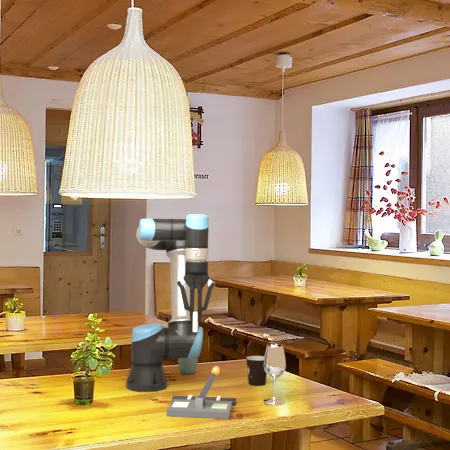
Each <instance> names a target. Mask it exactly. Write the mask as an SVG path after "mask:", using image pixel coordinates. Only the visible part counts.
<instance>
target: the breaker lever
mask: <svg viewBox="0 0 450 450" xmlns="http://www.w3.org/2000/svg"><path fill="white" fill-rule="evenodd" d="M220 373H221V367H220V366H219V365H214V366H213V367H212V369H211V373H210V375H209V376H208V378H207V380H206V382H205V384H204V385H203V388H202V390H201V392H199V393H200V395H199V397H198V396H197V397H198V398H203V400H204V399H205V397H207V395H208V393H209V391H210V390H211V388H212V386H213V383H214V382H215V380H216V378H217V377H218V376H219V375H220Z"/></svg>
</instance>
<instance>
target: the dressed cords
mask: <svg viewBox="0 0 450 450" xmlns="http://www.w3.org/2000/svg"><path fill="white" fill-rule="evenodd" d="M196 398H198V396H193V394H188V395H172V397H171V402H172V401H173V399H185V400H195V399H196ZM205 400H210V401H232V406H236V404H237V398H236V397H222V396H221V395H217V396H206V397H205Z"/></svg>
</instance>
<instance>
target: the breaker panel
mask: <svg viewBox="0 0 450 450" xmlns="http://www.w3.org/2000/svg"><path fill="white" fill-rule="evenodd" d="M200 393H201V392H198V393H197V397H199V395H200ZM232 408H233V405H232V401H210V400H205V399H204V400H203V398H196V399H195V400H185V399H173V401H172V400H171V403H170V405H169V406H168V408H167V409H166V417H175V418H200V419H223V420H224V419H225V420H229V418H230V416H231V411H232Z"/></svg>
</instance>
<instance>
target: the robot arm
mask: <svg viewBox="0 0 450 450" xmlns="http://www.w3.org/2000/svg"><path fill="white" fill-rule="evenodd" d="M185 217H186V218H152V217H151V218H150V217H147V218H141V219H140V220H139V224H138V227H137V229H136V232H135V239H136V240H137V242H138V244H140V246H141V247H144V248H146V249H149V250H152V251H153V250H154V251H165V253H166V254H165V255H166V256H167V258H169V262H170V294H171V295H170V297H171V298H170V299H171V300H170V301H171V303H170V304H171V319H170V320H169V321H168V322H167V327H164V324H162V323H160V322H157V323H155V322H154V323H153V322H152V323H146V324H145V323H144V324H141V325H137V326H135V327H133V329H132V331H131V338H130V342H131V356H130V358H131V359H130V360H131V361H130V363H131V364H130V369H129V372H128V375H127V378H126V381H125V385H126V386H125V388H126V389H128V390H131V391H135V392H144V393H145V392H158V391H162V390H165V389H167V387H168V385H167V384H168V381H167V377H166V374H165V370H164V368H163V359H164V360H165V359H167V360H171V359H176V360H178V359H179V358H186V359H188V358H196V357H200V354H201V352H202V348H203V347H202V346H203V342H204V341H203V338H204V328H203V327H201V326H199V323H201V322H202V320H203V318H202V317H203V316H202V313H203V312H204V311H207V310H208V307H209V303H210V298H211V295H212V292H213V288H214V287H215V285H216V284H217V283H216V282H215V281H213V280H212V279H210V276H209V270H208V269H209V262H208V261H207V260H208V259H209V228H210V221H209V220H210V219H209V215H207V214H204V213H189V214H187V215H186V216H185ZM206 284H207V286H208V288H207V292H206V296H205V299H204V302H203V288H204V287H205V286H206ZM196 289H197V310H195V290H196Z"/></svg>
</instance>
